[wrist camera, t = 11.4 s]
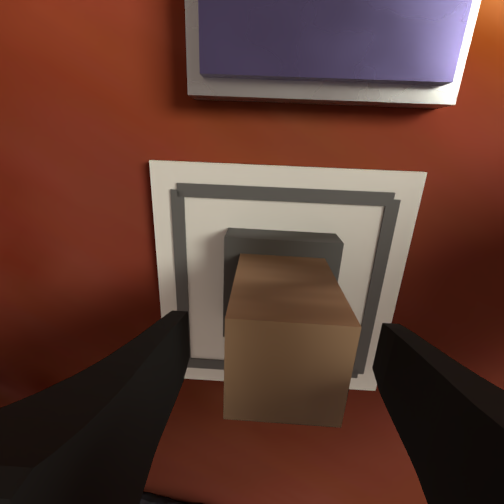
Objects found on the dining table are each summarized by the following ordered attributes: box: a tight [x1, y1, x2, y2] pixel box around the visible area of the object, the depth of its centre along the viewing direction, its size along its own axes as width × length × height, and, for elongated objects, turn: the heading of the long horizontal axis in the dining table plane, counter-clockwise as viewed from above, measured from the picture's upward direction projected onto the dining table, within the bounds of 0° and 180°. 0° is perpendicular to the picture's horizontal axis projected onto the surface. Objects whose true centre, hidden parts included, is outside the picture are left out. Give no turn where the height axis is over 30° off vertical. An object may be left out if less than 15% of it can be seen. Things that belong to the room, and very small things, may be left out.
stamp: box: [223, 228, 361, 428], centre depth 11 cm, size 5×5×6 cm
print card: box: [149, 160, 427, 391], centre depth 15 cm, size 12×12×1 cm
